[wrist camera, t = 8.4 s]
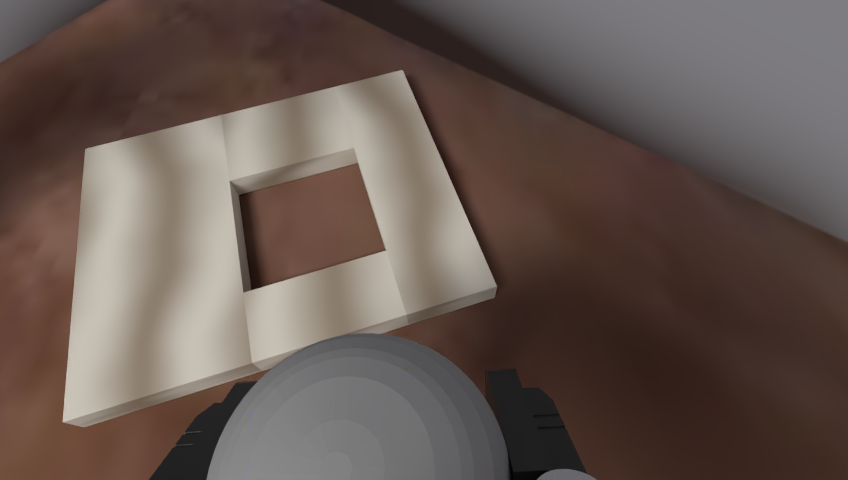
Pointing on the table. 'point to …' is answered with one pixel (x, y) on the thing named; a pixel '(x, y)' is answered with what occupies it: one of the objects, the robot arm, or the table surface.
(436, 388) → the light bulb
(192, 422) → the robot arm
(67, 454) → the table surface
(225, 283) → the cream board with hole
